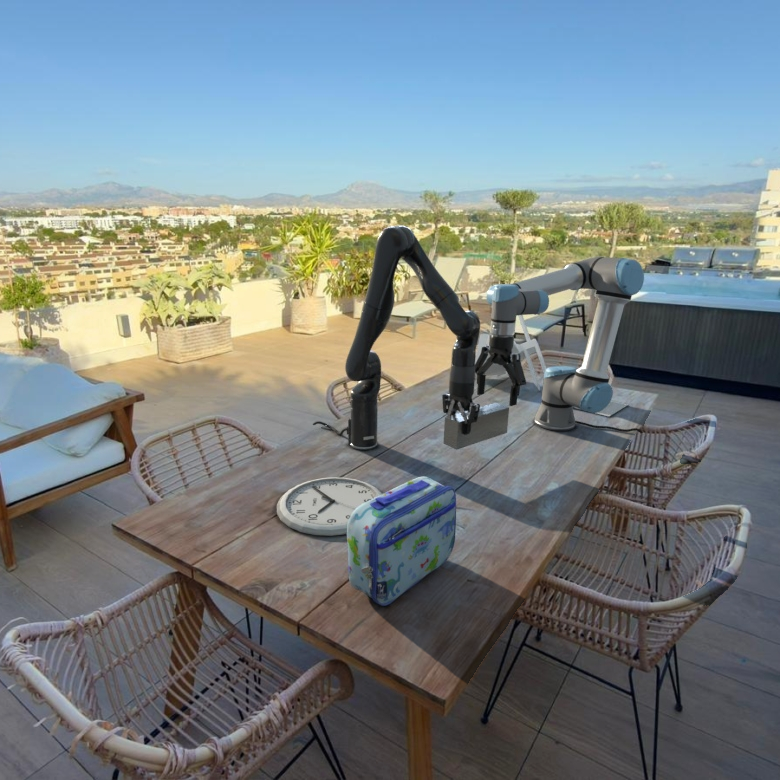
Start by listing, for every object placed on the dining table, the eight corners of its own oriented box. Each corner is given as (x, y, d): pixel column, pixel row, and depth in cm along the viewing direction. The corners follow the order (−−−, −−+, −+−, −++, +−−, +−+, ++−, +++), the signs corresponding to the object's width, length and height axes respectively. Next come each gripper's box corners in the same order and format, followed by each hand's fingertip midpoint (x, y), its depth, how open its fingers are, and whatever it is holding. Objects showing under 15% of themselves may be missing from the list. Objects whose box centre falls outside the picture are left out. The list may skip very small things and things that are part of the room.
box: (493, 427, 177) (495, 402, 174) (506, 432, 173) (509, 407, 170) (443, 443, 163) (444, 416, 160) (456, 449, 159) (458, 422, 156)
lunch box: (376, 619, 101) (377, 524, 95) (340, 592, 109) (339, 502, 102) (459, 562, 119) (465, 479, 113) (424, 542, 126) (427, 463, 120)
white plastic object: (486, 419, 265) (465, 396, 240) (467, 347, 287) (447, 319, 262) (557, 395, 253) (543, 369, 228) (532, 321, 275) (517, 290, 250)
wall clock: (392, 527, 129) (268, 531, 127) (391, 533, 130) (269, 537, 127) (383, 473, 158) (282, 475, 155) (383, 478, 158) (282, 480, 156)
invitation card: (608, 416, 214) (573, 407, 224) (608, 416, 214) (573, 408, 224) (628, 404, 229) (594, 396, 238) (628, 405, 229) (594, 397, 238)
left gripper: (436, 375, 160) (433, 426, 165) (471, 386, 149) (467, 441, 154) (454, 371, 164) (451, 421, 169) (488, 382, 153) (484, 435, 158)
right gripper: (464, 329, 170) (460, 391, 177) (526, 343, 152) (519, 412, 158) (480, 327, 175) (475, 388, 181) (542, 340, 156) (535, 407, 162)
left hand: (458, 430), depth 162 cm, fingers closed on box, 6 cm apart
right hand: (496, 399), depth 169 cm, fingers open, 13 cm apart
